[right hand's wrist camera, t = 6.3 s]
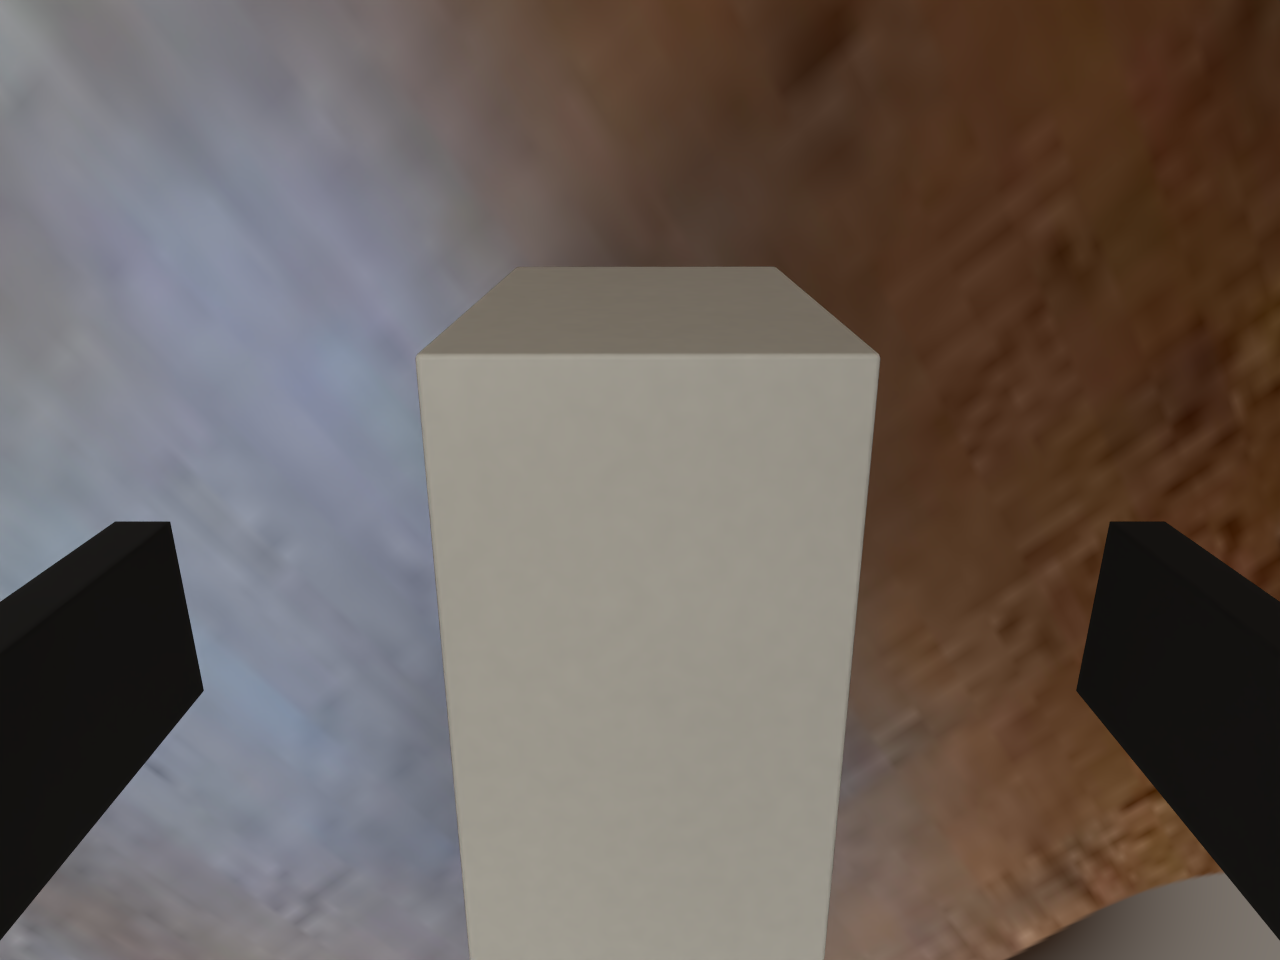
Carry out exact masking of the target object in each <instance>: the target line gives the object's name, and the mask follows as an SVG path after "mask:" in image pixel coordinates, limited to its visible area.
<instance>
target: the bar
mask: <svg viewBox="0 0 1280 960" xmlns="http://www.w3.org/2000/svg"><path fill="white" fill-rule="evenodd" d="M879 367H880V356H879V354H878V353H877V352H875V351H874V350H873V349H872V348H871V347H870V346H868V345H867V344H866V343H865V342H864V341H862V340H861V339H860V338H859V337H858V336H857V335H855V334H854V333H853V332H852V331H851V330H849V329H848V328H847V327H846V326H845V325H843V324H842V323H841V322H840V321H839V320H838V319H836V318H835V317H834V316H833V315H832V314H830V313H829V312H828V311H827V310H826V309H825V308H823V307H822V306H821V305H820V304H819V303H817V302H816V301H815V300H814V299H813V298H812V297H810V296H809V295H808V294H807V293H806V292H804V291H803V290H802V289H801V288H800V287H798V286H797V285H796V284H795V283H794V282H793V281H791V280H790V279H789V278H788V277H787V276H785V275H784V274H783V273H782V272H781V271H780V270H778V269H777V268H776V267H517V268H515V269H514V270H513V271H512V272H511V273H510V274H509V275H507V276H506V277H505V278H504V279H503V280H502V281H501V282H499V283H498V284H497V285H496V286H495V287H494V288H493V289H491V290H490V291H489V292H488V293H487V294H486V295H485V296H483V297H482V298H481V299H480V300H479V301H478V302H477V303H475V304H474V305H473V306H472V307H471V308H470V309H469V310H467V311H466V312H465V313H464V314H463V315H462V316H461V317H459V318H458V319H457V320H456V321H455V322H454V323H453V324H451V325H450V326H449V327H448V328H447V329H446V330H445V331H443V332H442V333H441V334H440V335H439V336H438V337H437V338H435V339H434V340H433V341H432V342H431V343H430V344H429V345H427V346H426V347H425V348H424V349H423V350H422V351H421V352H419V353H418V354H417V356H416V370H417V381H418V392H419V403H420V414H421V425H422V436H423V447H424V459H425V470H426V481H427V492H428V503H429V514H430V525H431V536H432V547H433V558H434V569H435V580H436V591H437V602H438V614H439V625H440V636H441V647H442V658H443V669H444V680H445V691H446V702H447V713H448V724H449V735H450V746H451V758H452V769H453V780H454V791H455V802H456V813H457V824H458V835H459V846H460V857H461V868H462V879H463V890H464V901H465V913H466V924H467V935H468V946H469V957H470V960H824V955H825V944H826V934H827V923H828V912H829V902H830V891H831V880H832V869H833V859H834V848H835V837H836V827H837V816H838V805H839V795H840V784H841V773H842V763H843V752H844V741H845V731H846V720H847V709H848V699H849V688H850V677H851V666H852V656H853V645H854V634H855V624H856V613H857V602H858V592H859V581H860V570H861V560H862V549H863V538H864V528H865V517H866V506H867V496H868V485H869V474H870V463H871V453H872V442H873V431H874V421H875V410H876V399H877V389H878V378H879Z"/></svg>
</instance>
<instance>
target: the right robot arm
mask: <svg viewBox="0 0 1280 960" xmlns="http://www.w3.org/2000/svg"><path fill="white" fill-rule="evenodd" d="M203 691H204V689H203V684H202V679H201V674H200V669H199V664H198V659H197V654H196V649H195V644H194V639H193V634H192V629H191V624H190V619H189V614H188V609H187V604H186V599H185V594H184V589H183V584H182V579H181V574H180V569H179V564H178V559H177V554H176V549H175V544H174V539H173V534H172V529H171V524H170V522H114V523H113V524H111V525H110V526H108V527H107V528H105V529H104V530H103V531H101V532H100V533H98V534H97V535H95V536H94V537H93V538H91V539H90V540H88V541H87V542H85V543H84V544H82V545H81V546H80V547H78V548H77V549H75V550H74V551H72V552H71V553H70V554H68V555H67V556H65V557H64V558H62V559H61V560H60V561H58V562H57V563H55V564H54V565H52V566H51V567H50V568H48V569H47V570H45V571H44V572H42V573H41V574H39V575H38V576H37V577H35V578H34V579H32V580H31V581H29V582H28V583H27V584H25V585H24V586H22V587H21V588H19V589H18V590H17V591H15V592H14V593H12V594H11V595H9V596H8V597H7V598H5V599H4V600H2V601H1V602H0V940H1V939H2V938H3V936H4V935H5V934H6V933H7V931H8V930H9V929H10V928H11V927H12V925H13V924H14V923H15V922H16V920H17V919H18V918H19V917H20V915H21V914H22V913H23V912H24V911H25V909H26V908H27V907H28V906H29V904H30V903H31V902H32V901H33V900H34V898H35V897H36V896H37V895H38V893H39V892H40V891H41V890H42V888H43V887H44V886H45V885H46V884H47V882H48V881H49V880H50V879H51V877H52V876H53V875H54V874H55V873H56V871H57V870H58V869H59V868H60V866H61V865H62V864H63V863H64V862H65V860H66V859H67V858H68V857H69V855H70V854H71V853H72V852H73V850H74V849H75V848H76V847H77V846H78V844H79V843H80V842H81V841H82V839H83V838H84V837H85V836H86V835H87V833H88V832H89V831H90V830H91V828H92V827H93V826H94V825H95V823H96V822H97V821H98V820H99V819H100V817H101V816H102V815H103V814H104V812H105V811H106V810H107V809H108V808H109V806H110V805H111V804H112V803H113V801H114V800H115V799H116V798H117V796H118V795H119V794H120V793H121V792H122V790H123V789H124V788H125V787H126V785H127V784H128V783H129V782H130V781H131V779H132V778H133V777H134V776H135V774H136V773H137V772H138V771H139V769H140V768H141V767H142V766H143V765H144V763H145V762H146V761H147V760H148V758H149V757H150V756H151V755H152V754H153V752H154V751H155V750H156V749H157V747H158V746H159V745H160V744H161V743H162V741H163V740H164V739H165V738H166V736H167V735H168V734H169V733H170V731H171V730H172V729H173V728H174V727H175V725H176V724H177V723H178V722H179V720H180V719H181V718H182V717H183V716H184V714H185V713H186V712H187V711H188V709H189V708H190V707H191V706H192V704H193V703H194V702H195V701H196V700H197V698H198V697H199V696H200V695H201V693H202V692H203ZM1076 691H1077V692H1078V693H1079V695H1080V696H1081V697H1082V698H1083V700H1084V701H1085V702H1086V703H1087V704H1088V706H1089V707H1090V708H1091V709H1092V711H1093V712H1094V713H1095V714H1096V716H1097V717H1098V718H1099V719H1100V720H1101V722H1102V723H1103V724H1104V725H1105V727H1106V728H1107V729H1108V730H1109V731H1110V733H1111V734H1112V735H1113V736H1114V738H1115V739H1116V740H1117V741H1118V743H1119V744H1120V745H1121V746H1122V747H1123V749H1124V750H1125V751H1126V752H1127V754H1128V755H1129V756H1130V757H1131V758H1132V760H1133V761H1134V762H1135V763H1136V765H1137V766H1138V767H1139V768H1140V769H1141V771H1142V772H1143V773H1144V774H1145V776H1146V777H1147V778H1148V779H1149V781H1150V782H1151V783H1152V784H1153V785H1154V787H1155V788H1156V789H1157V790H1158V792H1159V793H1160V794H1161V795H1162V796H1163V798H1164V799H1165V800H1166V801H1167V803H1168V804H1169V805H1170V806H1171V808H1172V809H1173V810H1174V811H1175V812H1176V814H1177V815H1178V816H1179V817H1180V819H1181V820H1182V821H1183V822H1184V823H1185V825H1186V826H1187V827H1188V828H1189V830H1190V831H1191V832H1192V833H1193V835H1194V836H1195V837H1196V838H1197V839H1198V841H1199V842H1200V843H1201V844H1202V846H1203V847H1204V848H1205V849H1206V850H1207V852H1208V853H1209V854H1210V855H1211V857H1212V858H1213V859H1214V860H1215V862H1216V863H1217V864H1218V865H1219V866H1220V868H1221V869H1222V870H1223V871H1224V873H1225V874H1226V875H1227V876H1228V877H1229V879H1230V880H1231V881H1232V882H1233V884H1234V885H1235V886H1236V887H1237V888H1238V890H1239V891H1240V892H1241V893H1242V895H1243V896H1244V897H1245V898H1246V899H1247V901H1248V902H1249V903H1250V904H1251V906H1252V907H1253V908H1254V909H1255V911H1256V912H1257V913H1258V914H1259V915H1260V917H1261V918H1262V919H1263V920H1264V922H1265V923H1266V924H1267V925H1268V927H1269V928H1270V929H1271V930H1272V931H1273V933H1274V934H1275V935H1276V936H1277V938H1278V939H1279V940H1280V602H1279V601H1278V600H1276V599H1275V598H1273V597H1272V596H1271V595H1269V594H1268V593H1266V592H1265V591H1263V590H1262V589H1261V588H1259V587H1258V586H1256V585H1255V584H1253V583H1252V582H1251V581H1249V580H1248V579H1246V578H1245V577H1243V576H1242V575H1241V574H1239V573H1238V572H1236V571H1235V570H1233V569H1232V568H1230V567H1229V566H1228V565H1226V564H1225V563H1223V562H1222V561H1220V560H1219V559H1218V558H1216V557H1215V556H1213V555H1212V554H1210V553H1209V552H1208V551H1206V550H1205V549H1203V548H1202V547H1200V546H1199V545H1198V544H1196V543H1195V542H1193V541H1192V540H1190V539H1189V538H1187V537H1186V536H1185V535H1183V534H1182V533H1180V532H1179V531H1177V530H1176V529H1175V528H1173V527H1172V526H1170V525H1169V524H1167V523H1166V522H1110V524H1109V529H1108V534H1107V539H1106V544H1105V549H1104V554H1103V559H1102V564H1101V569H1100V574H1099V579H1098V584H1097V589H1096V594H1095V599H1094V604H1093V609H1092V614H1091V619H1090V624H1089V629H1088V634H1087V639H1086V644H1085V649H1084V654H1083V659H1082V664H1081V669H1080V674H1079V679H1078V684H1077V689H1076Z"/></svg>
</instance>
